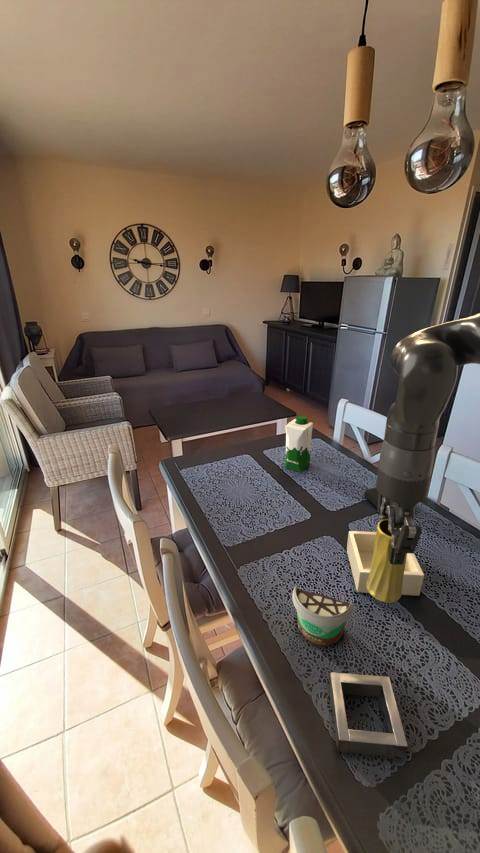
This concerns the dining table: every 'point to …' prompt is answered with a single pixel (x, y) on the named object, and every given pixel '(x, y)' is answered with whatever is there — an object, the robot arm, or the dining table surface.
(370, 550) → the cream wooden open box
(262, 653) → the dining table surface
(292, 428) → the milk carton
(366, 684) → the grey square frame
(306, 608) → the food container
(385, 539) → the vase
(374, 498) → the carrying case
